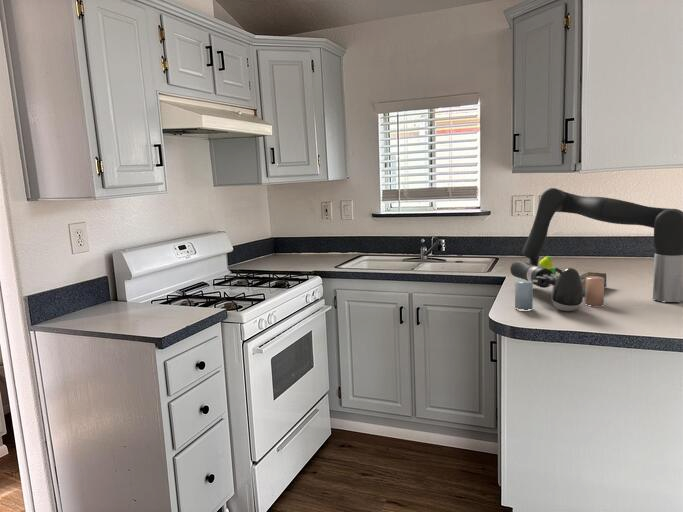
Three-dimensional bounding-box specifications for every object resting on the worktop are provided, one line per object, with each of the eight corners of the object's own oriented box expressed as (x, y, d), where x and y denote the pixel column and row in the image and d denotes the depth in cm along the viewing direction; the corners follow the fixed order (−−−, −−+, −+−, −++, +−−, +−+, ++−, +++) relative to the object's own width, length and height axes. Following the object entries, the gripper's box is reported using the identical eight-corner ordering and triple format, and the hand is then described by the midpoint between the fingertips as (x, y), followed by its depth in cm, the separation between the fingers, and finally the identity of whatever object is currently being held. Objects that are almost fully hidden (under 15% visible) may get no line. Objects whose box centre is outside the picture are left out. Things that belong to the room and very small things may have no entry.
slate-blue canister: (535, 308, 188) (535, 281, 186) (527, 312, 183) (527, 284, 182) (520, 306, 192) (520, 279, 190) (511, 309, 188) (511, 282, 186)
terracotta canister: (606, 304, 189) (606, 277, 187) (599, 307, 185) (600, 280, 183) (589, 302, 193) (589, 275, 192) (582, 305, 189) (582, 278, 188)
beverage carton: (568, 294, 207) (568, 278, 206) (587, 285, 220) (587, 270, 219) (588, 297, 201) (589, 280, 200) (607, 288, 214) (607, 272, 214)
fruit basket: (546, 277, 241) (547, 253, 239) (560, 280, 232) (560, 255, 230) (526, 279, 237) (526, 255, 235) (539, 283, 229) (539, 257, 227)
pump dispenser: (553, 298, 190) (558, 260, 184) (583, 305, 185) (590, 266, 179) (545, 309, 183) (551, 270, 177) (576, 317, 177) (583, 277, 171)
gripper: (523, 267, 202) (542, 274, 185) (556, 266, 203) (578, 272, 185) (523, 286, 203) (542, 294, 186) (556, 285, 203) (578, 293, 186)
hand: (560, 283), depth 186 cm, fingers closed
